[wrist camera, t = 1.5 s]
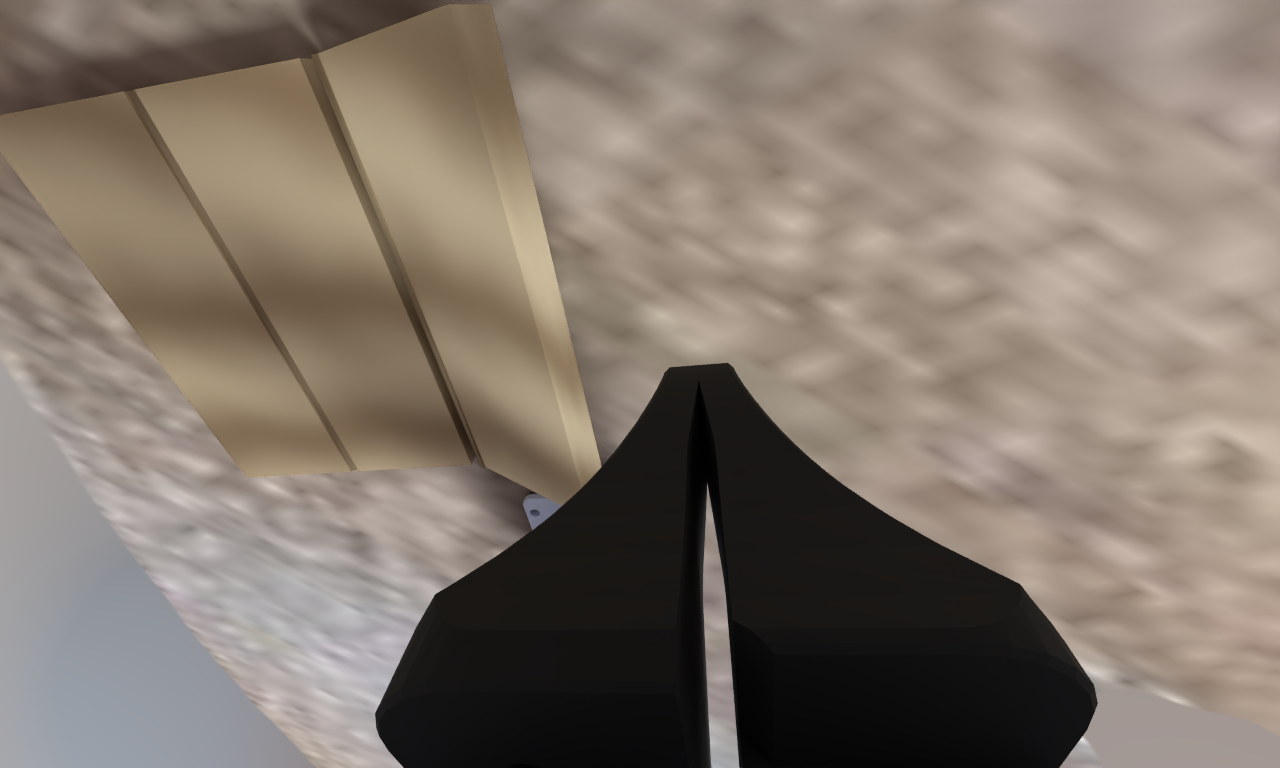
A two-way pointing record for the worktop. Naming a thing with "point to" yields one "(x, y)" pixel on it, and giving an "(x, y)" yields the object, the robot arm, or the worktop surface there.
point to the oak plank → (468, 235)
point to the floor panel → (248, 265)
